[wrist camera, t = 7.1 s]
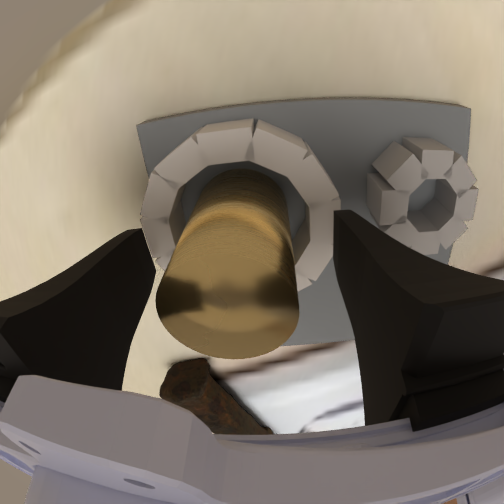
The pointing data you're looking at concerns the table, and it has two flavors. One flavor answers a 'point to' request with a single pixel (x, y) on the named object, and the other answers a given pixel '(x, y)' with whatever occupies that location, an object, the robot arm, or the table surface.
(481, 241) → the table surface
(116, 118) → the table surface
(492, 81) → the table surface
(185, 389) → the brown wooden stick
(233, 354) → the round peg
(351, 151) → the fitting board
